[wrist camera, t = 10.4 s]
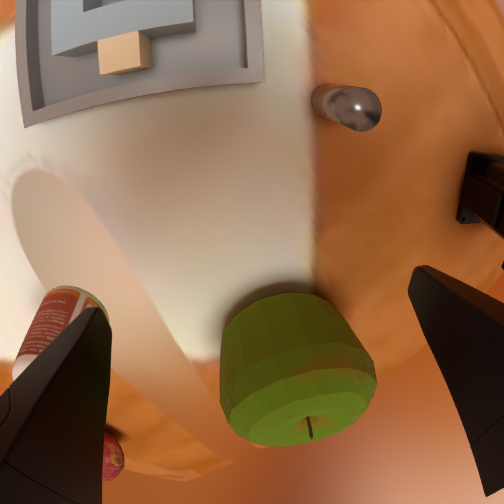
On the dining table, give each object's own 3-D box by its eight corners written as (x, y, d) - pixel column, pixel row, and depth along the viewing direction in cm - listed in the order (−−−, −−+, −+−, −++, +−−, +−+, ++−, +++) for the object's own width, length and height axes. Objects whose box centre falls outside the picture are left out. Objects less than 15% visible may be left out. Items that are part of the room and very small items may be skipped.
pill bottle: (41, 317, 22) (0, 421, 13) (52, 269, 20) (-6, 386, 11) (100, 346, 25) (77, 455, 15) (120, 303, 22) (92, 431, 13)
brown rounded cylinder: (345, 84, 16) (382, 89, 12) (344, 118, 17) (380, 132, 13) (310, 83, 16) (341, 86, 12) (311, 118, 17) (340, 131, 13)
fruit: (87, 412, 31) (79, 466, 24) (136, 433, 35) (134, 484, 28) (69, 426, 33) (61, 472, 26) (112, 444, 37) (109, 489, 30)
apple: (211, 364, 28) (219, 471, 18) (223, 272, 22) (238, 407, 13) (320, 363, 30) (352, 455, 21) (359, 279, 24) (422, 384, 15)
